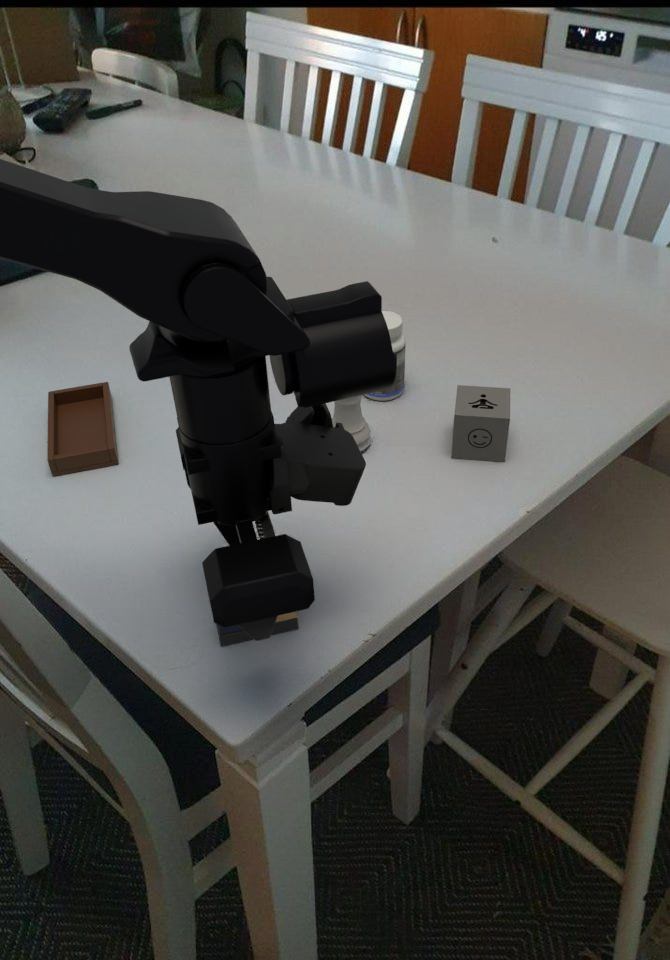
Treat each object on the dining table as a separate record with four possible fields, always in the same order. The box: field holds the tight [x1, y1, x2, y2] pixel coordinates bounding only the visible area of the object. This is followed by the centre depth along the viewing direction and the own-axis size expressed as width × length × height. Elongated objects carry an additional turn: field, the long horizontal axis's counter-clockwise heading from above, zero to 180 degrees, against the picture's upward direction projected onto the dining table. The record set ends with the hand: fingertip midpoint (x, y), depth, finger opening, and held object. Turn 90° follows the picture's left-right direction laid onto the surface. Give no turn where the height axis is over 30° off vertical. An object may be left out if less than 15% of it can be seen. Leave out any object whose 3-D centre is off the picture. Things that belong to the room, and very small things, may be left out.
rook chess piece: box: [331, 395, 372, 453], centre depth 77 cm, size 4×4×8 cm
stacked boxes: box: [215, 611, 300, 648], centre depth 61 cm, size 6×3×4 cm, turn 105°
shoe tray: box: [46, 381, 120, 477], centre depth 81 cm, size 6×12×2 cm, turn 15°
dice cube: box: [450, 384, 511, 463], centre depth 77 cm, size 5×5×5 cm
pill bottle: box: [364, 310, 407, 402], centre depth 84 cm, size 5×5×8 cm
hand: (250, 590), depth 60 cm, fingers open, 9 cm apart
